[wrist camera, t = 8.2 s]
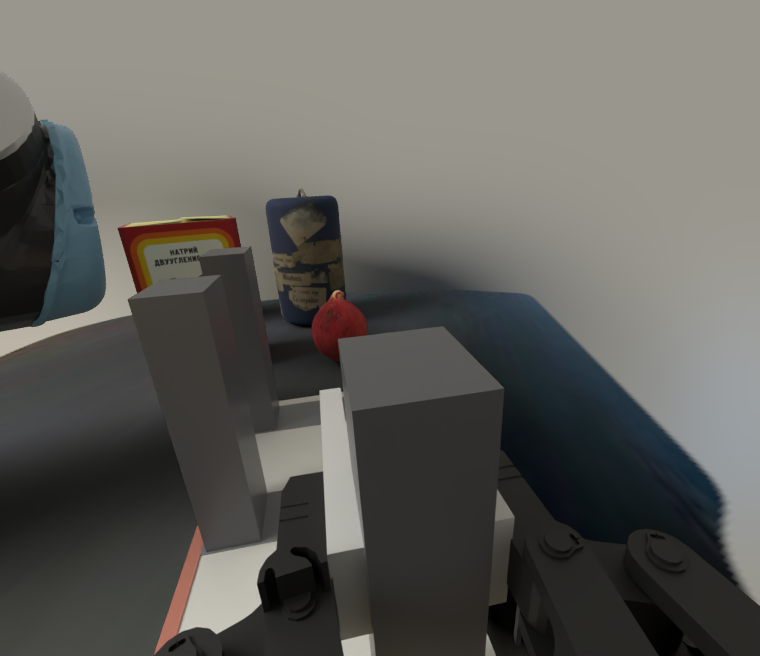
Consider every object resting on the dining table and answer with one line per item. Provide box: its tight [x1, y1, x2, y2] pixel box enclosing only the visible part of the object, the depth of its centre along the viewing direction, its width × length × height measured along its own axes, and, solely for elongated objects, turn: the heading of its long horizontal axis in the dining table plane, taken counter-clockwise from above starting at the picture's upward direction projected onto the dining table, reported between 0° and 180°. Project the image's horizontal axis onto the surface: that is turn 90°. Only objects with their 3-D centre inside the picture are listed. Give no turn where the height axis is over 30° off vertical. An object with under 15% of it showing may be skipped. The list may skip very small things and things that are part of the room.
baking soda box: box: [118, 216, 241, 293], centre depth 39 cm, size 10×6×16 cm
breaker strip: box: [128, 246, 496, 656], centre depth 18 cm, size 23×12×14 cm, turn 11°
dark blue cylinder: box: [266, 189, 346, 325], centre depth 52 cm, size 10×10×18 cm
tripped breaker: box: [338, 326, 504, 656], centre depth 9 cm, size 3×2×12 cm
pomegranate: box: [312, 290, 368, 362], centre depth 39 cm, size 6×6×8 cm
